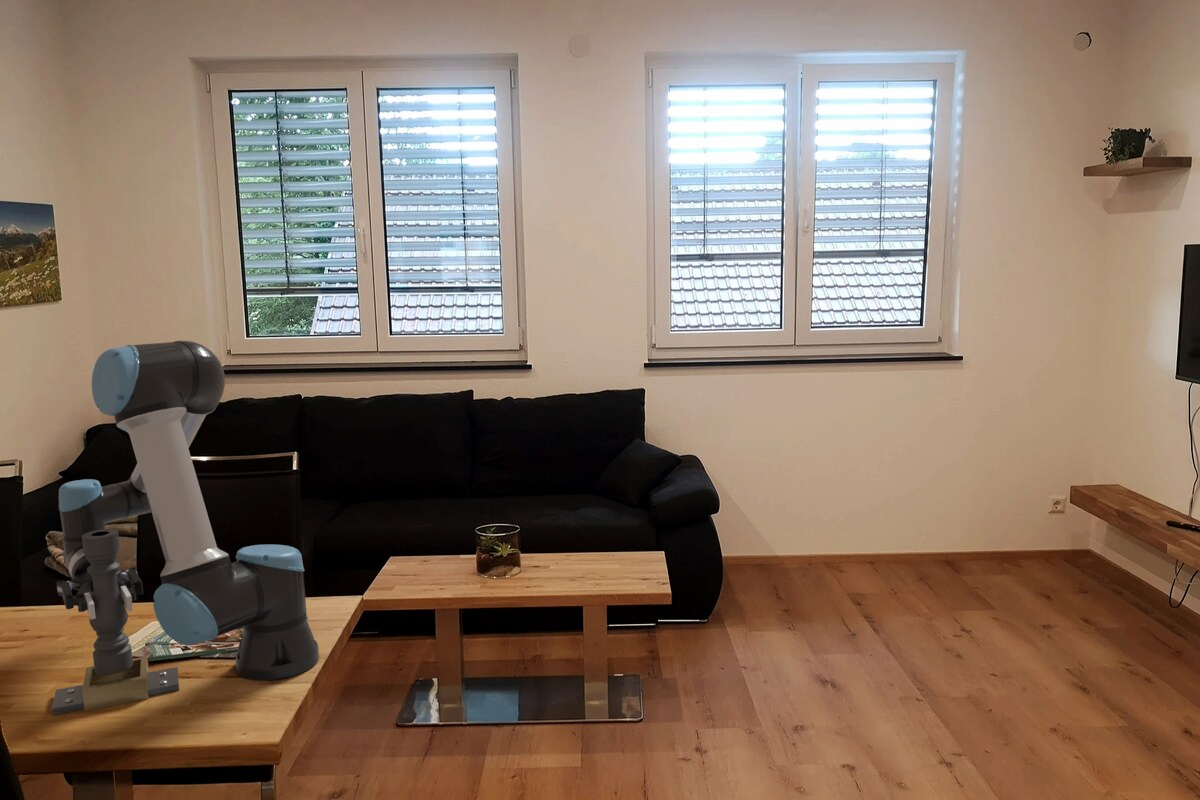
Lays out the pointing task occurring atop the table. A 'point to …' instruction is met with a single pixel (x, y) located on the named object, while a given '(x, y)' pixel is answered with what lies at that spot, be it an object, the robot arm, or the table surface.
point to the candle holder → (107, 603)
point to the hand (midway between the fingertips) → (111, 607)
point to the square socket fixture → (115, 688)
